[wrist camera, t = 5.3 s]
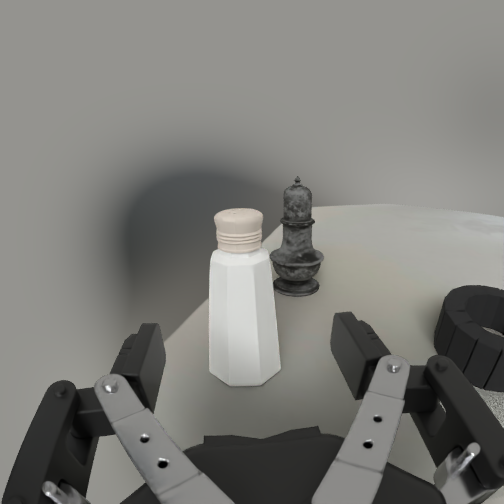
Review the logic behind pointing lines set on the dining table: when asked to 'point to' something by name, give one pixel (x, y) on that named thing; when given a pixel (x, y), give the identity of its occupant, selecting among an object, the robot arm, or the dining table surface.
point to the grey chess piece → (296, 245)
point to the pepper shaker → (242, 302)
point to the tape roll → (473, 334)
